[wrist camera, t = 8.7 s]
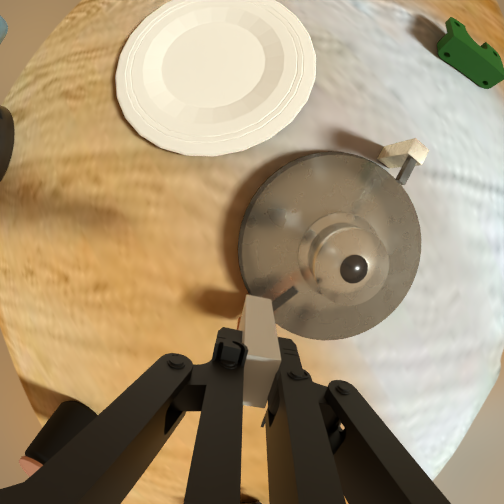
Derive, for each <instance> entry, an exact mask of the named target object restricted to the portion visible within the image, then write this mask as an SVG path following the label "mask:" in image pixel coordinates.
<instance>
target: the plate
mask: <svg viewBox="0 0 504 504" xmlns="http://www.w3.org/2000/svg"><path fill="white" fill-rule="evenodd" d="M315 76H316V54H315V51H314V47H313V44H312V41H311V38H310V35H309V33H308V32H307V30H306V29H305V27H304V26H303V25H302V23H301V22H300V20H299V19H298V17H296V16H295V15H294V14H293V13H292V12H291V11H289V10H288V9H287V8H286V7H284V6H283V5H282V4H281V3H279V2H277V1H275V0H172V1H169V2H167V3H165V4H164V5H162V6H161V7H159V8H158V9H157V10H155V11H154V12H152V13H151V14H150V15H148V16H147V17H146V18H145V19H144V20H143V21H142V22H141V23H140V24H139V26H138V27H137V28H136V29H135V30H134V31H133V33H132V34H131V35H130V37H129V38H128V40H127V42H126V44H125V46H124V48H123V50H122V52H121V54H120V57H119V61H118V66H117V70H116V75H115V80H116V93H117V99H118V102H119V104H120V107H121V109H122V111H123V114H124V116H125V118H126V119H127V121H128V122H129V123H130V124H131V125H132V126H133V128H134V129H135V130H136V131H137V132H138V133H139V135H141V136H142V137H144V138H146V139H147V140H149V141H150V142H152V143H153V144H155V145H157V146H158V147H160V148H162V149H166V150H169V151H173V152H176V153H180V154H183V155H187V156H214V157H215V156H220V155H224V154H230V153H235V152H240V151H244V150H246V149H248V148H251V147H253V146H255V145H257V144H259V143H262V142H264V141H266V140H268V139H270V138H271V137H273V136H274V135H275V134H277V133H278V132H279V131H280V130H282V129H283V128H284V127H286V126H287V125H288V124H289V123H291V122H292V121H293V119H294V118H295V117H296V115H297V114H298V113H299V111H300V110H301V109H302V107H303V106H304V105H305V103H306V102H307V100H308V98H309V95H310V92H311V89H312V87H313V84H314V81H315Z"/></svg>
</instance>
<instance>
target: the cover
mask: <svg viewBox="0 0 504 504" xmlns="http://www.w3.org/2000/svg"><path fill="white" fill-rule="evenodd" d="M297 258H298V265H299V269H300V272H301V274H302V276H303V278H304V280H305V282H306V283H307V284H308V286H309V287H311V288H312V289H313V290H314V291H315V292H317V293H319V294H321V295H323V296H325V297H326V298H328V299H329V300H330V301H332V302H334V303H336V304H339V305H345V306H352V305H358V304H361V303H363V302H366V301H367V300H369V299H371V298H372V297H373V296H374V295H375V294H377V293H378V291H379V290H380V289H381V288H382V286H383V284H384V283H385V281H386V278H387V275H388V271H389V256H388V253H387V250H386V247H385V246H384V244H383V242H382V241H381V240H380V239H379V237H378V235H377V233H376V231H375V230H374V228H373V227H372V226H371V225H370V224H369V223H368V222H367V221H366V220H364V219H363V218H361V217H359V216H357V215H354V214H351V213H346V212H335V213H330V214H327V215H324V216H322V217H320V218H319V219H317V220H316V221H314V222H313V223H312V224H311V225H310V226H309V227H308V228H307V230H306V231H305V233H304V234H303V236H302V238H301V240H300V243H299V247H298V256H297Z"/></svg>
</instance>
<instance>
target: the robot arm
mask: <svg viewBox="0 0 504 504" xmlns="http://www.w3.org/2000/svg"><path fill="white" fill-rule="evenodd" d="M7 31H8V26H7V23H6V21H5V20H4V19H3V18H2V17H1V16H0V44H1V42H2V41H3V39H4V38H5V36H6V34H7ZM13 144H14V123H13V118H12V115H11V113H10V112H9V110H8V109H7V108H5V107H3V106H0V181H1V180H2V178H3V176H4V174H5V172H6V170H7V168H8V165H9V162H10V159H11V155H12V150H13ZM297 351H298V350H297V347H296V344H295V343H294V342H293V341H292V340H291V339H286V338H281V337H277V331H276V325H275V319H274V313H273V307H272V302H271V299H267V298H262V297H257V296H252V295H246V299H245V303H244V307H243V311H242V316H241V320H240V324H239V328H238V330H235V329H230V328H225V327H223V328H221V329H220V330H219V331H218V334H217V339H216V343H215V347H214V352H213V357H212V360H211V361H210V362H208V363H206V364H201V365H193V364H192V361H191V360H190V359H189V358H187V357H186V356H184V355H181V354H176V353H170V354H165V355H163V356H162V357H160V358H159V359H158V360H157V361H156V362H155V363H154V364H153V365H152V366H151V367H150V368H149V369H148V370H147V371H145V372H144V373H143V374H142V375H141V376H140V377H139V378H138V379H137V380H136V381H135V382H134V383H133V384H132V385H130V386H129V387H128V388H127V389H126V390H125V391H124V392H123V393H122V394H121V395H120V396H119V397H118V398H116V399H115V400H114V401H113V402H112V403H111V404H110V405H109V406H108V407H107V408H106V409H105V410H103V411H102V412H101V413H100V414H99V415H98V416H97V417H96V418H95V419H94V420H93V421H91V422H90V423H89V424H88V425H87V426H86V427H85V428H84V429H83V430H82V431H80V432H79V433H78V434H77V435H76V436H75V437H74V438H73V439H72V440H71V441H69V442H68V443H67V444H66V445H65V446H64V447H63V448H62V449H61V450H60V451H58V452H57V453H56V454H55V455H54V456H53V457H52V458H51V459H49V460H48V461H47V462H46V463H45V464H44V465H43V466H42V467H41V468H39V469H38V470H37V471H36V472H35V473H34V474H33V475H32V476H30V477H29V478H28V479H27V480H26V481H25V482H23V483H20V484H16V485H13V486H10V487H7V488H3V489H0V504H121V502H122V501H123V500H124V498H125V497H126V496H127V494H128V493H129V492H130V490H131V489H132V488H133V486H134V485H135V484H136V482H137V481H138V480H139V478H140V477H141V476H142V474H143V473H144V472H145V470H146V469H147V467H148V466H149V465H150V463H151V462H152V461H153V459H154V458H155V456H156V455H157V454H158V452H159V451H160V450H161V448H162V447H163V445H164V444H165V443H166V441H167V440H168V438H169V437H170V435H171V434H172V433H173V431H174V430H175V428H176V427H177V426H178V424H179V423H180V421H181V420H182V418H183V417H184V416H185V413H186V411H201V415H200V420H199V425H198V430H197V435H196V441H195V446H194V451H193V456H192V461H191V467H190V472H189V477H188V483H187V488H186V493H185V499H184V504H240V484H241V448H242V415H243V405H247V406H253V407H260V408H265V406H266V403H267V400H268V408H267V411H266V414H265V416H264V419H263V421H262V424H261V427H264V424H265V423H266V442H267V462H268V482H269V502H270V504H346V502H345V498H346V500H347V501H348V503H349V504H451V503H450V502H449V501H448V500H447V498H446V497H445V496H444V495H443V494H442V492H441V491H440V490H439V489H438V488H437V487H436V485H435V484H434V483H433V482H432V480H431V479H430V478H429V477H428V476H427V474H426V473H425V472H424V471H423V470H422V468H421V467H420V466H419V465H418V463H417V462H416V461H415V460H414V459H413V457H412V456H411V455H410V454H409V453H408V451H407V450H406V449H405V448H404V447H403V445H402V444H401V443H400V442H399V440H398V439H397V438H396V437H395V436H394V434H393V433H392V432H391V431H390V429H389V428H388V427H387V426H386V425H385V423H384V422H383V421H382V420H381V419H380V417H379V416H378V415H377V414H376V412H375V411H374V410H373V409H372V408H371V406H370V405H369V404H368V403H367V401H366V400H365V399H364V398H363V397H362V395H361V394H360V393H359V392H358V390H357V389H356V388H355V387H354V386H353V385H352V384H350V383H348V382H346V381H342V380H334V381H331V382H330V383H329V385H328V387H326V386H323V385H320V384H317V383H314V382H312V379H311V376H310V374H309V373H308V372H307V371H305V370H304V369H302V365H301V362H300V358H299V354H298V352H297ZM341 423H342V424H343V426H344V427H345V429H344V430H342V429H341V427H340V425H341ZM344 496H345V498H344Z"/></svg>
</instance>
